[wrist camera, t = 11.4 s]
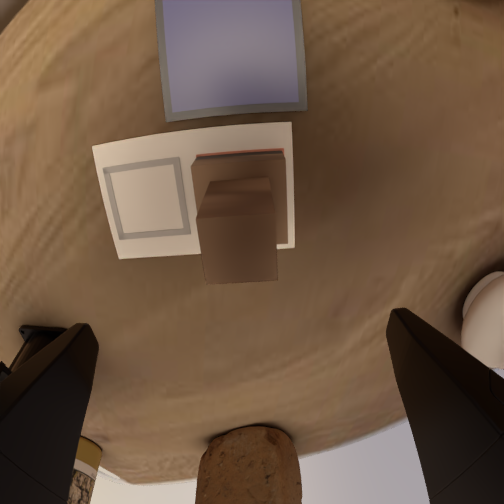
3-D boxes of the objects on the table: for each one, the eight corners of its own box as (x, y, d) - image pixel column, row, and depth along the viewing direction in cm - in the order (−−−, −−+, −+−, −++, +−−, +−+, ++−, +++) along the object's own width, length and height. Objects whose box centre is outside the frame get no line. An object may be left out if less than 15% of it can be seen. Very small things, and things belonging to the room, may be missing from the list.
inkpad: (170, 120, 17) (164, 122, 16) (159, -1, 13) (153, -6, 12) (304, 109, 17) (308, 111, 16) (295, -14, 13) (299, -20, 12)
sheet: (119, 257, 21) (118, 259, 21) (93, 145, 17) (91, 146, 17) (294, 246, 21) (294, 248, 21) (291, 121, 17) (291, 122, 17)
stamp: (207, 231, 20) (189, 302, 14) (197, 156, 18) (168, 198, 12) (284, 226, 20) (299, 295, 14) (281, 150, 18) (299, 189, 12)
